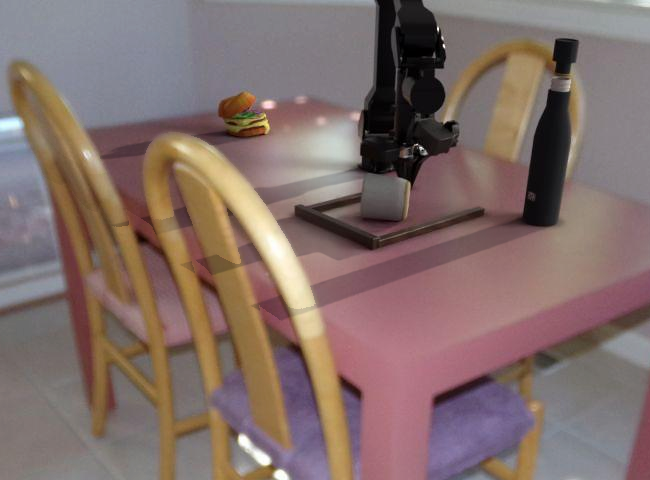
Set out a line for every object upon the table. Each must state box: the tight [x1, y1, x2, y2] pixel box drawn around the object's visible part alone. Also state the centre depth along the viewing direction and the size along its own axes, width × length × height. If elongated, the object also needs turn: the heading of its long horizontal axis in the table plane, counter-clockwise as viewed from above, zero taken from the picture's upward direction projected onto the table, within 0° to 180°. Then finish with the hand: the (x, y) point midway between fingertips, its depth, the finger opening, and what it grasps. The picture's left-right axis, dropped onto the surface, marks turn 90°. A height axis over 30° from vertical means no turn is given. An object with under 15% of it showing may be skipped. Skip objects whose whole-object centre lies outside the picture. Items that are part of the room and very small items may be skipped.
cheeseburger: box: [217, 91, 270, 138], centre depth 183 cm, size 10×11×10 cm
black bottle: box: [521, 37, 580, 227], centre depth 135 cm, size 6×6×30 cm
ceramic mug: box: [359, 172, 411, 222], centre depth 139 cm, size 11×8×8 cm
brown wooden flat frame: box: [293, 191, 486, 250], centre depth 141 cm, size 28×20×2 cm
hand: (406, 191), depth 142 cm, fingers closed
